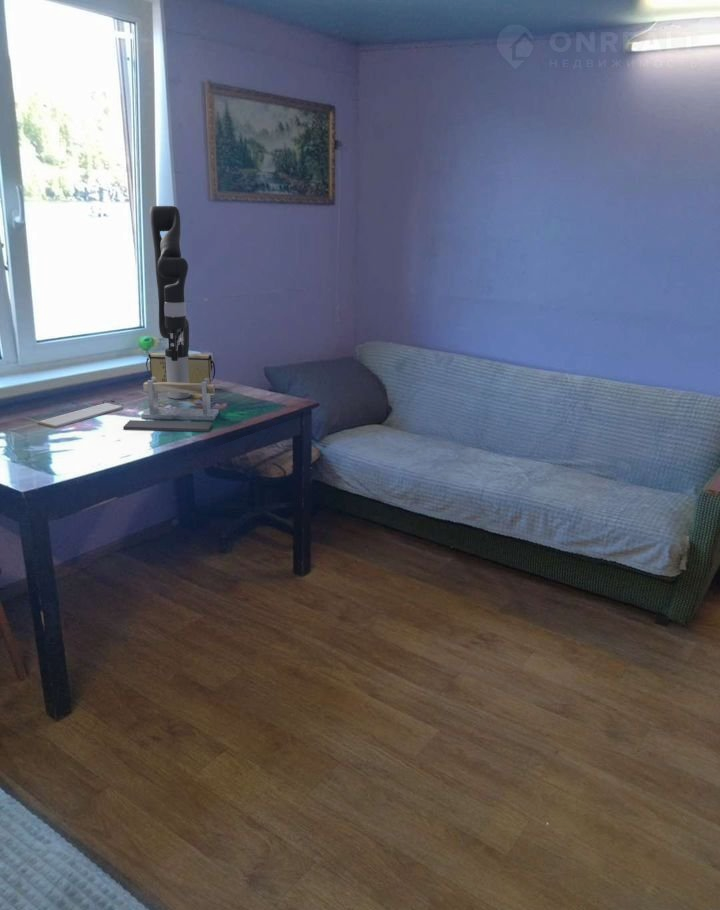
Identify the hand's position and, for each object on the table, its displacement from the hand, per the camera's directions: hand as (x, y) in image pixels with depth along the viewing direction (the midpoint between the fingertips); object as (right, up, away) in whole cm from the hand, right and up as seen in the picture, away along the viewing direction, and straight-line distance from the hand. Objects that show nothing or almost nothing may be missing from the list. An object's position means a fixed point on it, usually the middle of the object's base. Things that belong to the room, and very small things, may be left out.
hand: (177, 358), depth 260 cm
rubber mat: (-1, -26, -7) cm, 27 cm away
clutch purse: (-11, -6, +50) cm, 51 cm away
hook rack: (-1, -21, +7) cm, 22 cm away
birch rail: (0, -12, +4) cm, 13 cm away
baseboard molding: (-38, -22, +4) cm, 44 cm away
